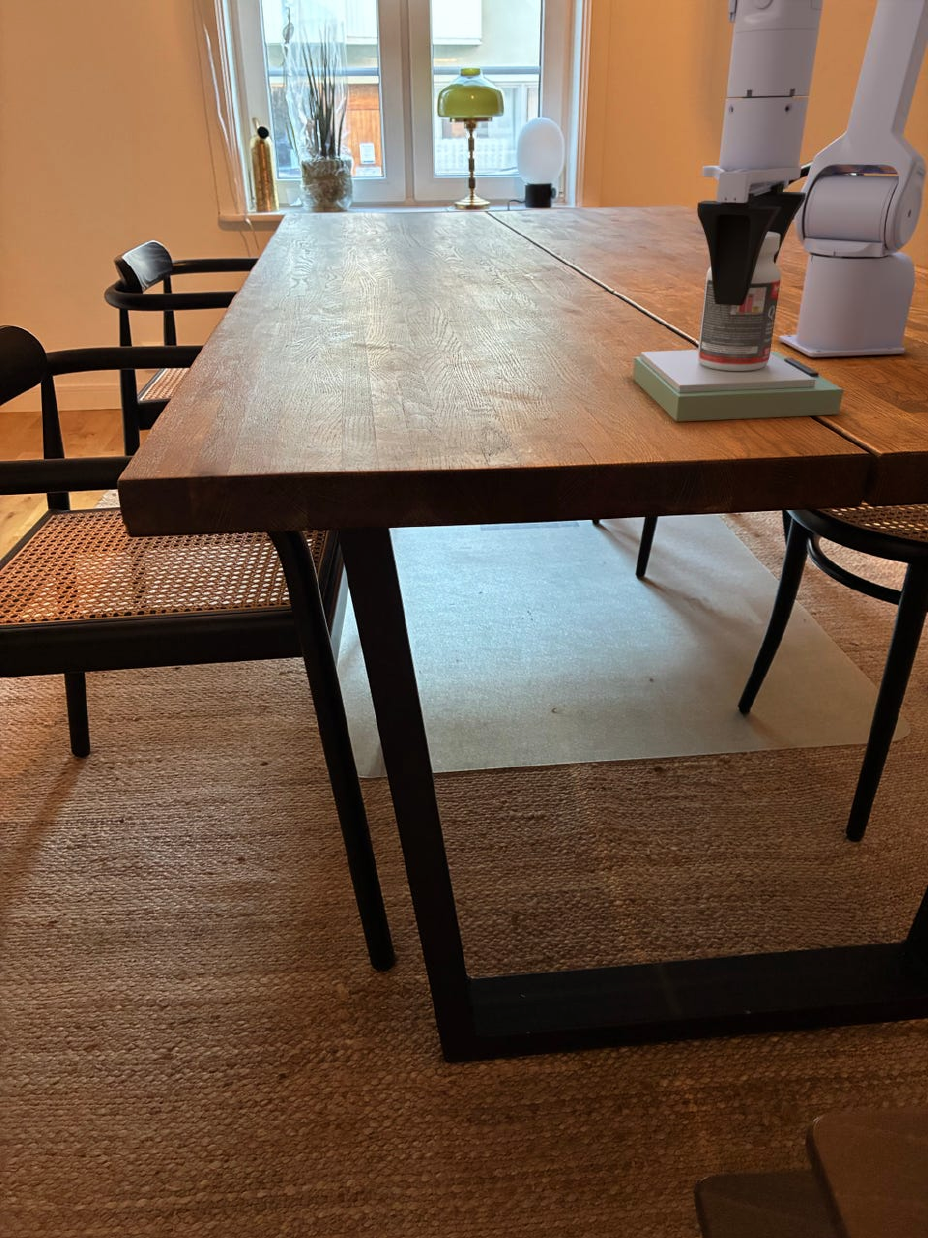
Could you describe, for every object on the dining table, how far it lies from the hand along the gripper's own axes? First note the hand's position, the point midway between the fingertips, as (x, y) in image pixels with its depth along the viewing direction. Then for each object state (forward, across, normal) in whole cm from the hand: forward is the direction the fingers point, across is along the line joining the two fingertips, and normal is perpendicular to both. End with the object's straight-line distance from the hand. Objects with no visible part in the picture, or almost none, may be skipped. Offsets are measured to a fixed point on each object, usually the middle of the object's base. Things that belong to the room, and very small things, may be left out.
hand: (741, 296), depth 71 cm
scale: (+8, 0, 0) cm, 8 cm away
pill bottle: (+6, 0, 0) cm, 6 cm away
